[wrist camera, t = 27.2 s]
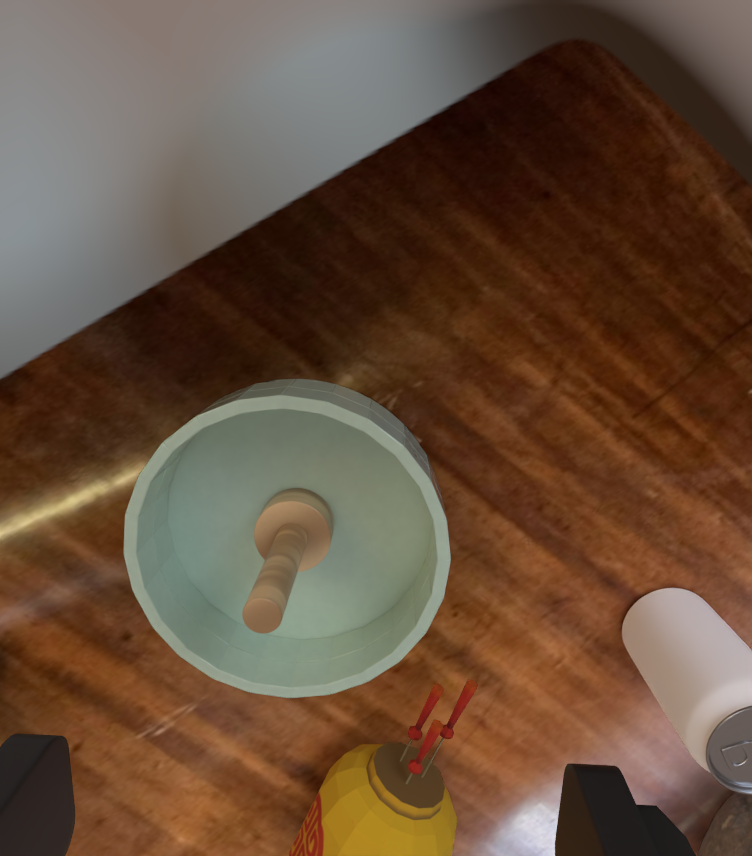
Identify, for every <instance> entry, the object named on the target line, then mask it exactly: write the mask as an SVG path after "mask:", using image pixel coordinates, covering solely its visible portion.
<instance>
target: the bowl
mask: <svg viewBox="0 0 752 856" xmlns="http://www.w3.org/2000/svg"><path fill="white" fill-rule="evenodd" d="M697 856H752V795H748V794H742V793H738V792H735V793H734V794H733V795H731V796H730V797H729V799H728V800H726V801H725V803H724V804H723V805H722V807H721V808H720V809H719V810H718V811H717V813H716V815H715V817H714V819H713V821H712V822H711V824H710V827H709V829H708V831H707V833H706V835H705V837H704V839H703V841H702V844H701V846H700V849H699V852H698V854H697Z"/></svg>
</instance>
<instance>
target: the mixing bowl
mask: <svg viewBox="0 0 752 856" xmlns="http://www.w3.org/2000/svg"><path fill="white" fill-rule="evenodd" d="M291 488H302V489H307V490H310V491H312V492H314V493H316V494H318V495H319V496H321V497H322V498H323V499H324V500H325V501H326V502H327V504H328V505H329V506H330V508H331V510H332V513H333V516H334V531H333V535H332V540H331V544H330V548H329V551H328V553H327V555H326V556H325V557H324V559H323V560H322V561H321V562H320V563H319V564H318V565H316V566H315V567H313V568H311V569H309V570H305V571H301V572H297V575H296V578H295V581H294V584H293V587H292V590H291V593H290V596H289V599H288V603H287V606H286V609H285V612H284V615H283V618H282V621H281V624H280V625H279V627H278V628H277V629H276V630H274V631H272V632H270V633H265V634H262V633H256V632H254V631H252V630H250V629H249V628H248V627H247V626H246V624H245V623H244V620H243V617H242V612H243V608H244V606H245V604H246V602H247V599H248V597H249V595H250V593H251V590H252V588H253V586H254V584H255V581H256V579H257V577H258V575H259V573H260V570H261V568H262V566H263V564H264V561H265V560H264V559H263V557H262V556H261V555H260V553H259V551H258V550H257V547H256V544H255V540H254V529H255V525H256V522H257V520H258V518H259V516H260V514H261V513H262V511H263V509H264V507H265V505H266V504H267V502H268V501H269V500H270V499H271V498H272V497H273V496H274V495H275V494H277V493H279V492H281V491H283V490H286V489H291ZM124 558H125V562H126V566H127V570H128V574H129V579H130V583H131V587H132V591H133V592H134V595H135V596H136V598H137V600H138V602H139V604H140V606H141V607H142V609H143V611H144V613H145V615H146V617H147V618H148V620H149V622H150V624H151V625H152V627H153V628H154V630H155V631H156V632H157V633H158V634H159V635H160V636H161V637H162V638H163V639H164V640H165V641H166V643H167V644H168V645H169V646H170V647H171V648H172V649H173V650H174V651H175V652H176V653H177V654H178V655H179V657H181V658H182V659H184V660H185V661H187V662H188V663H190V664H191V665H193V666H194V667H196V668H197V669H199V670H200V671H202V672H203V673H205V674H206V675H208V676H209V677H211V678H213V679H215V680H217V681H220V682H223V683H225V684H228V685H231V686H233V687H236V688H238V689H241V690H244V691H246V692H249V693H250V692H251V693H255V694H262V695H269V696H276V697H284V698H299V697H311V696H322V695H329V694H334V693H337V692H340V691H343V690H346V689H349V688H352V687H355V686H358V685H361V684H364V683H366V682H369V681H370V680H372V679H373V678H375V677H376V676H378V675H380V674H381V673H383V672H384V671H386V670H387V669H389V668H391V667H392V666H394V665H395V664H397V663H398V662H399V661H401V660H402V659H403V658H404V657H405V655H406V654H407V653H408V652H409V651H410V650H411V649H412V648H413V647H414V646H415V645H416V643H417V642H418V641H419V640H420V639H421V638H422V637H423V636H424V635H425V634H426V632H427V630H428V629H429V627H430V625H431V623H432V621H433V619H434V617H435V615H436V613H437V611H438V609H439V607H440V605H441V603H442V601H443V598H444V595H445V589H446V584H447V578H448V573H449V568H450V562H451V555H450V546H449V536H448V526H447V518H446V514H445V509H444V504H443V499H442V494H441V490H440V487H439V484H438V482H437V479H436V477H435V474H434V470H433V468H432V466H431V464H430V462H429V459H428V457H427V455H426V453H425V452H424V450H423V449H422V447H421V446H420V444H419V443H418V441H417V440H416V438H415V437H414V436H413V434H412V433H411V432H410V431H409V430H408V429H407V428H406V426H405V425H404V424H403V423H402V422H401V421H400V420H399V419H397V418H396V417H395V416H394V415H393V414H392V413H391V412H389V411H388V410H387V409H385V408H384V407H382V406H381V405H379V404H378V403H377V402H375V401H374V400H372V399H370V398H368V397H366V396H364V395H362V394H360V393H358V392H356V391H354V390H351V389H348V388H345V387H342V386H340V385H337V384H332V383H328V382H323V381H318V380H308V379H281V380H273V381H268V382H263V383H258V384H254V385H252V386H249V387H246V388H243V389H240V390H238V391H236V392H234V393H232V394H229V395H227V396H224V397H222V398H220V399H219V400H217V401H216V402H215V403H213V404H212V405H210V406H209V407H208V408H206V409H205V410H204V411H202V412H201V413H200V414H198V415H197V416H196V417H194V418H193V419H192V420H190V421H189V422H188V423H186V424H185V425H184V426H183V427H181V428H180V429H179V430H177V431H176V432H175V433H174V434H172V435H171V436H170V437H168V438H167V439H166V440H165V441H163V443H161V445H160V446H159V448H158V449H157V450H156V452H155V453H154V454H153V456H152V457H151V459H150V460H149V461H148V463H147V464H146V466H145V467H144V468H143V470H142V471H141V473H140V474H139V476H138V478H137V481H136V484H135V487H134V490H133V493H132V495H131V498H130V501H129V504H128V507H127V510H126V514H125V529H124Z"/></svg>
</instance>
